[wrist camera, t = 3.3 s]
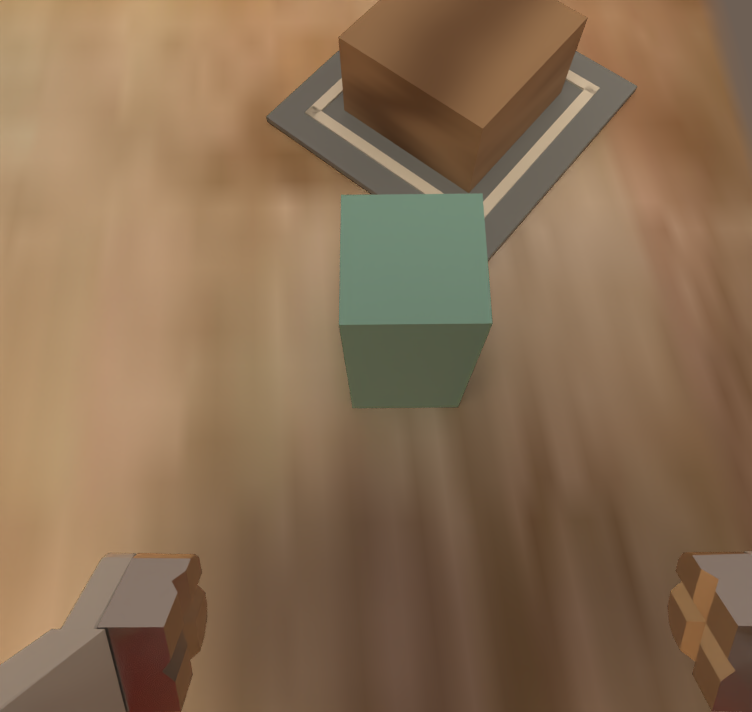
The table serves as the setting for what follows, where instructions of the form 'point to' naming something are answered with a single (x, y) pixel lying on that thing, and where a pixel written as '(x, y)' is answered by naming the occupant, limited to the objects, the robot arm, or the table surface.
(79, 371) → the table surface
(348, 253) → the pillar
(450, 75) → the base block
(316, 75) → the board
